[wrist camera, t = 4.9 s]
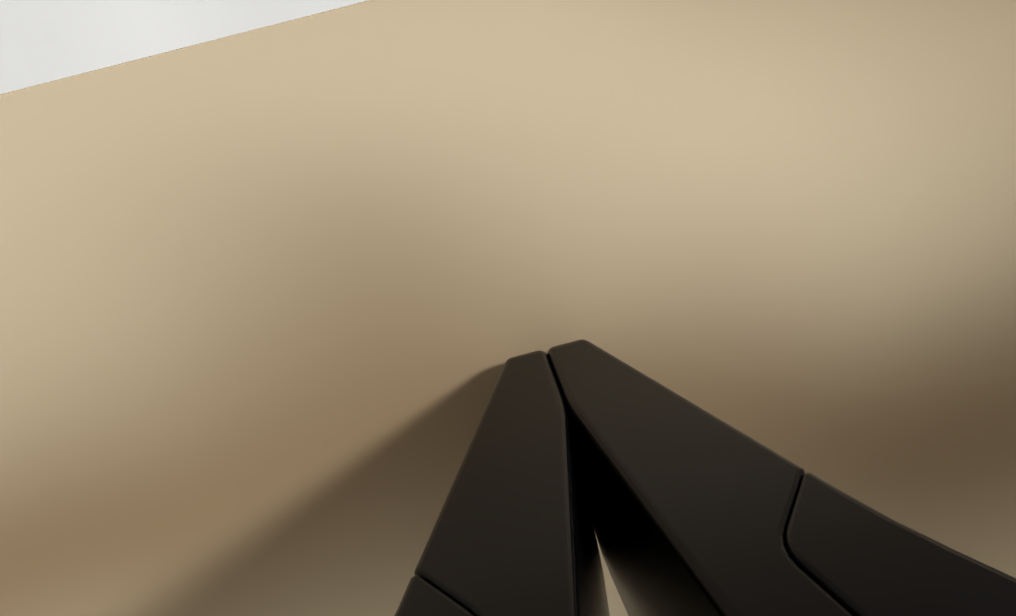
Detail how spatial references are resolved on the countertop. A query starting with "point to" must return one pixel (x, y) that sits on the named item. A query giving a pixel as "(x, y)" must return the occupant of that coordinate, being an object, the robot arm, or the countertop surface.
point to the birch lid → (490, 276)
